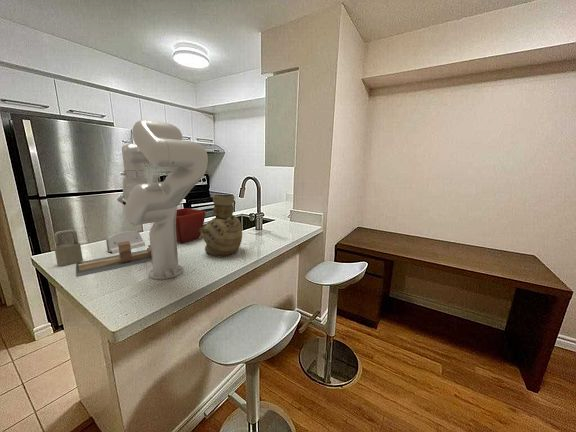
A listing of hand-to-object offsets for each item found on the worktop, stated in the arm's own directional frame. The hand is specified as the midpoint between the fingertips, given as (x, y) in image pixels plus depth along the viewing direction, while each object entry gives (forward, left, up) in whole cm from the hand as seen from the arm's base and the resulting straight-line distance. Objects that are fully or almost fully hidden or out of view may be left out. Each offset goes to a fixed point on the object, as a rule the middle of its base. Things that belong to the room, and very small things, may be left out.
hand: (139, 214), depth 108 cm
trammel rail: (+2, +8, -20) cm, 22 cm away
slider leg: (+2, +7, -20) cm, 21 cm away
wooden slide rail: (+3, +8, -21) cm, 23 cm away
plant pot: (+21, -25, -22) cm, 39 cm away
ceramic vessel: (-15, -33, -22) cm, 42 cm away
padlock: (+15, +26, -22) cm, 37 cm away
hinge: (+23, +4, -22) cm, 32 cm away
